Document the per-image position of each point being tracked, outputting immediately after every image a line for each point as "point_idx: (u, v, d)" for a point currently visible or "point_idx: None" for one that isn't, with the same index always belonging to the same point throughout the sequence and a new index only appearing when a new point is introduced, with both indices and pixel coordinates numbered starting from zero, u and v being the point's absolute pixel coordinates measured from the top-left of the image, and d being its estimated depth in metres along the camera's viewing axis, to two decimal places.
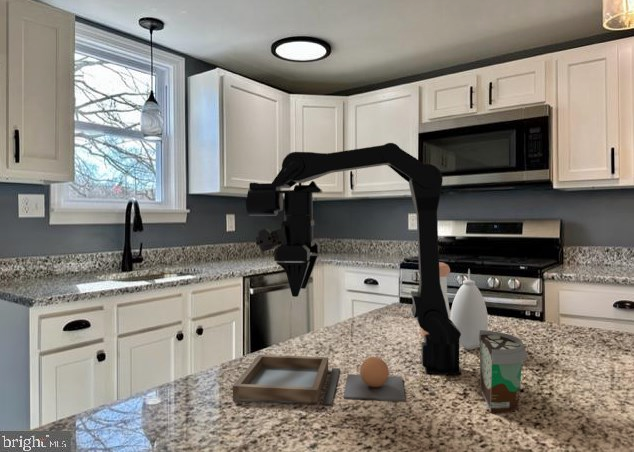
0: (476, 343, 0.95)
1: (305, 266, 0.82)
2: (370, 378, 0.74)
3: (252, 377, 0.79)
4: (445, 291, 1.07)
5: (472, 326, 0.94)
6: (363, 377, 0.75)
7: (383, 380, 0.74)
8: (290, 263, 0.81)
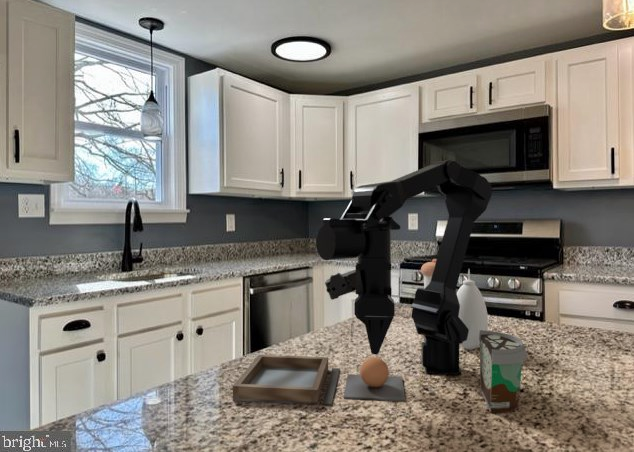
0: (476, 343, 0.95)
1: (389, 320, 0.69)
2: (370, 378, 0.74)
3: (252, 377, 0.79)
4: None
5: (472, 326, 0.94)
6: (363, 377, 0.75)
7: (383, 380, 0.74)
8: (373, 317, 0.68)
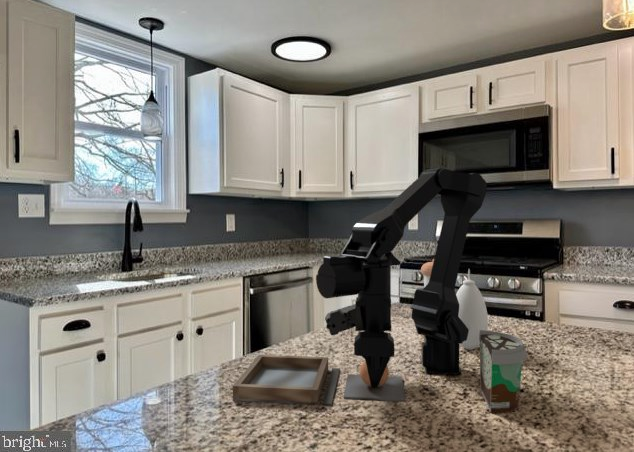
0: (476, 343, 0.95)
1: None
2: None
3: (252, 377, 0.79)
4: None
5: (472, 326, 0.94)
6: (363, 377, 0.75)
7: (383, 380, 0.74)
8: None
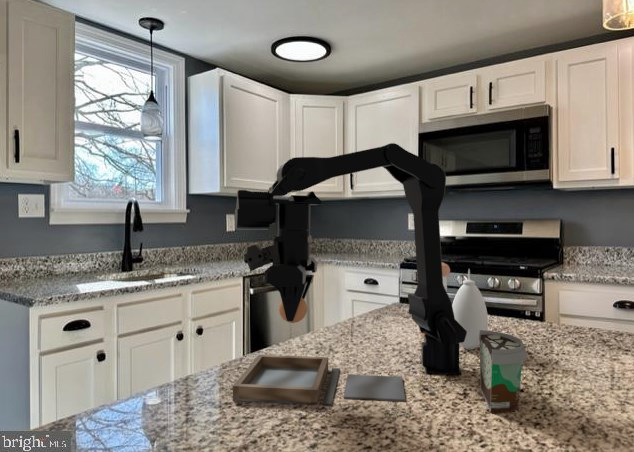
0: (476, 343, 0.95)
1: (302, 288, 0.72)
2: None
3: (252, 377, 0.79)
4: None
5: (472, 326, 0.94)
6: (280, 312, 0.76)
7: (299, 315, 0.76)
8: (285, 284, 0.72)
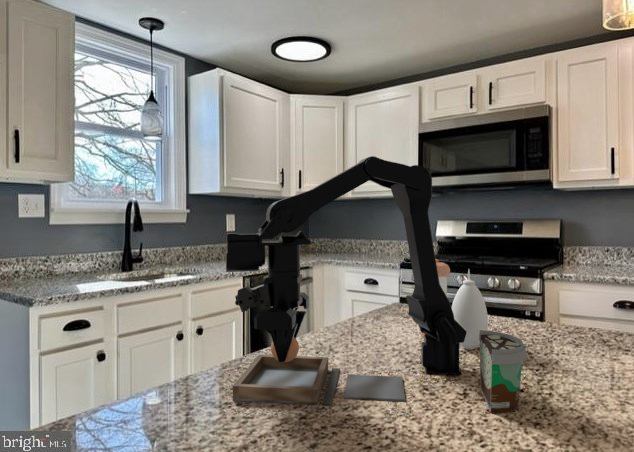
0: (476, 343, 0.95)
1: (292, 330, 0.73)
2: None
3: (252, 377, 0.79)
4: (445, 291, 1.07)
5: (472, 326, 0.94)
6: (272, 352, 0.77)
7: (290, 355, 0.76)
8: None
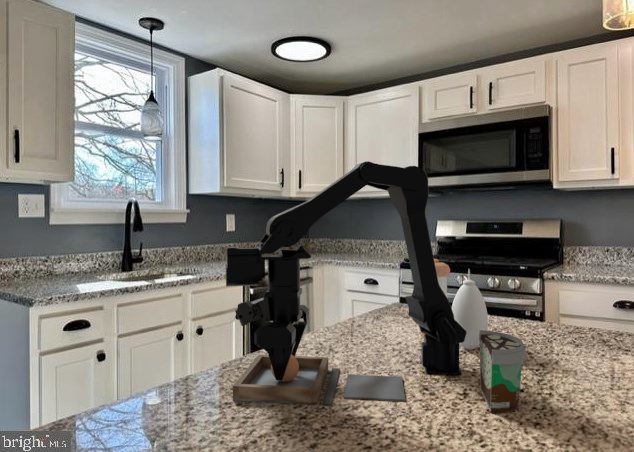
0: (476, 343, 0.95)
1: (290, 348, 0.71)
2: None
3: (252, 377, 0.79)
4: (445, 291, 1.07)
5: (472, 326, 0.94)
6: (272, 371, 0.77)
7: (290, 374, 0.77)
8: (273, 346, 0.70)
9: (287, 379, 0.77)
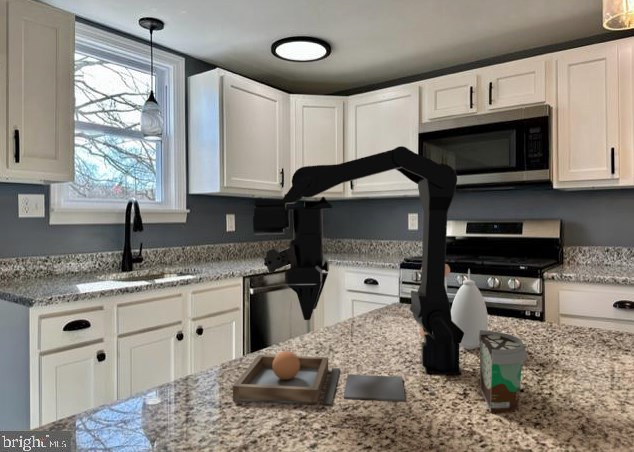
0: (476, 343, 0.95)
1: (318, 288, 0.77)
2: (279, 364, 0.78)
3: (252, 377, 0.79)
4: None
5: (472, 326, 0.94)
6: (274, 366, 0.78)
7: (291, 368, 0.77)
8: (302, 286, 0.76)
9: (288, 373, 0.77)
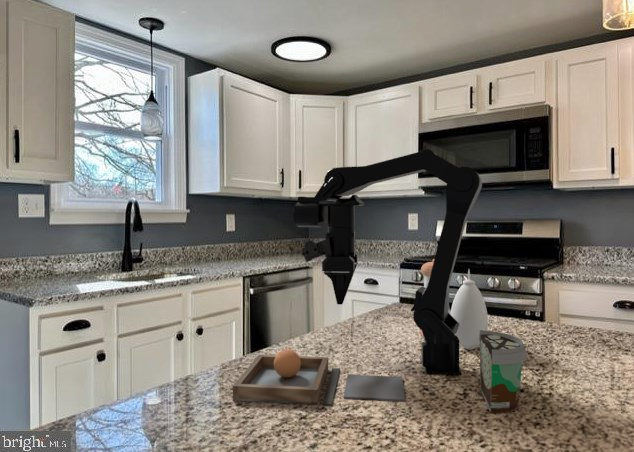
0: (476, 343, 0.95)
1: (350, 276, 0.87)
2: (281, 356, 0.79)
3: (252, 377, 0.79)
4: None
5: (472, 326, 0.94)
6: (275, 360, 0.80)
7: (293, 361, 0.79)
8: (337, 273, 0.86)
9: (289, 366, 0.78)
